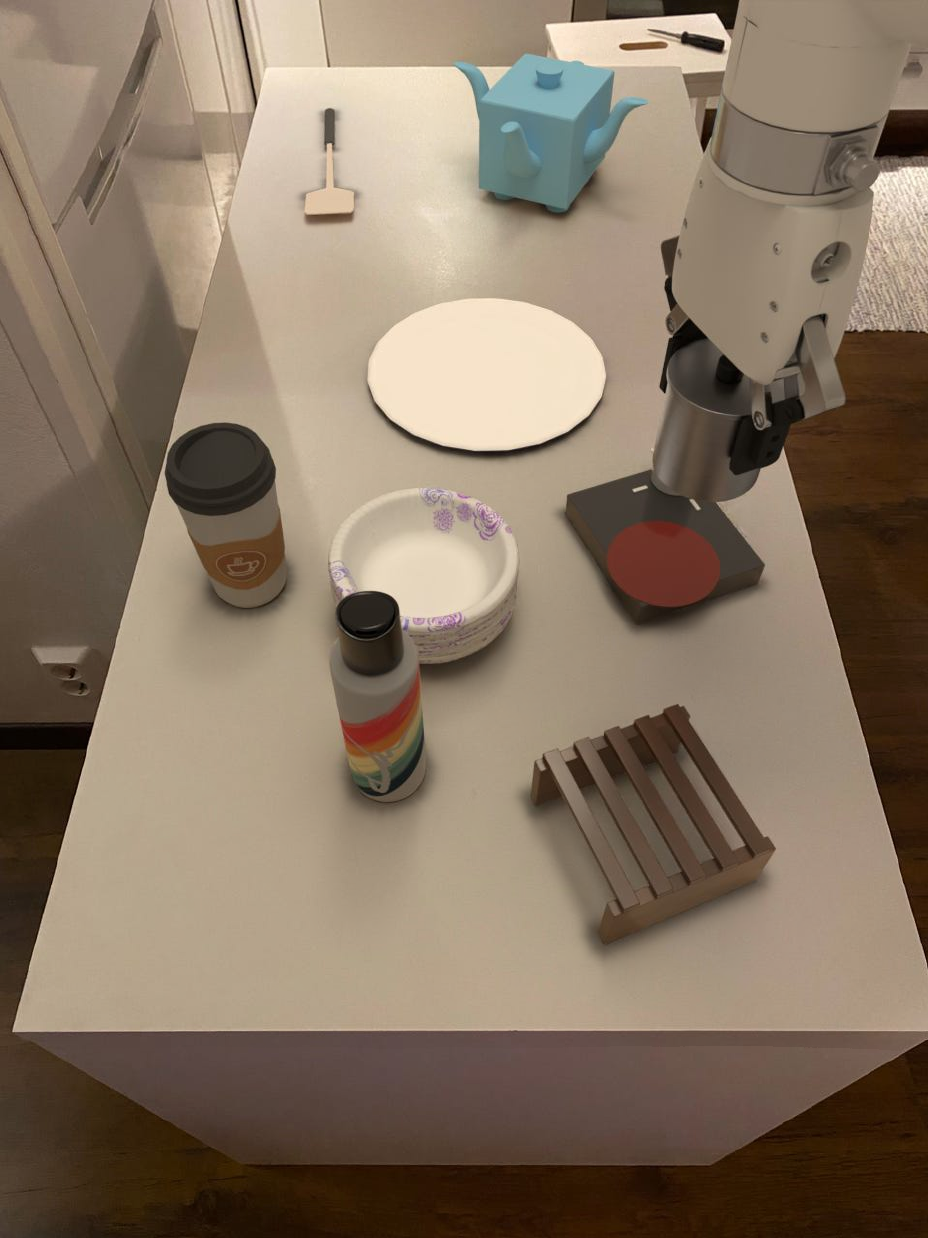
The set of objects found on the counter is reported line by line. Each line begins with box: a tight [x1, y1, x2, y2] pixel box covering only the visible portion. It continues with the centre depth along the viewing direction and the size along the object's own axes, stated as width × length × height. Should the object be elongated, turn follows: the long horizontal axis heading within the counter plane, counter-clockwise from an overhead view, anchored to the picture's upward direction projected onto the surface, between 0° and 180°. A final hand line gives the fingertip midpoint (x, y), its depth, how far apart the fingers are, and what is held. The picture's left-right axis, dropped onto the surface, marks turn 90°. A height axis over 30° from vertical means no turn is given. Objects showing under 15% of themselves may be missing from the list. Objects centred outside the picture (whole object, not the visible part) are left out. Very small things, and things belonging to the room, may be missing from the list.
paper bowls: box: [327, 487, 520, 665], centre depth 78 cm, size 15×15×8 cm
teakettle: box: [453, 52, 650, 213], centre depth 117 cm, size 19×19×15 cm
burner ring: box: [607, 521, 720, 607], centre depth 81 cm, size 10×10×1 cm
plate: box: [366, 297, 607, 453], centre depth 99 cm, size 25×25×1 cm
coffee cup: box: [164, 421, 288, 609], centre depth 77 cm, size 8×8×15 cm
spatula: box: [303, 107, 355, 216], centre depth 126 cm, size 6×29×2 cm, turn 5°
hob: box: [564, 447, 766, 626], centre depth 85 cm, size 14×16×3 cm
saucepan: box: [651, 338, 785, 503], centre depth 59 cm, size 7×13×8 cm, turn 113°
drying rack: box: [530, 703, 777, 946], centre depth 66 cm, size 12×12×6 cm
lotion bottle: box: [328, 591, 427, 803], centre depth 64 cm, size 6×6×20 cm
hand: (716, 423), depth 59 cm, fingers closed on saucepan, 7 cm apart
